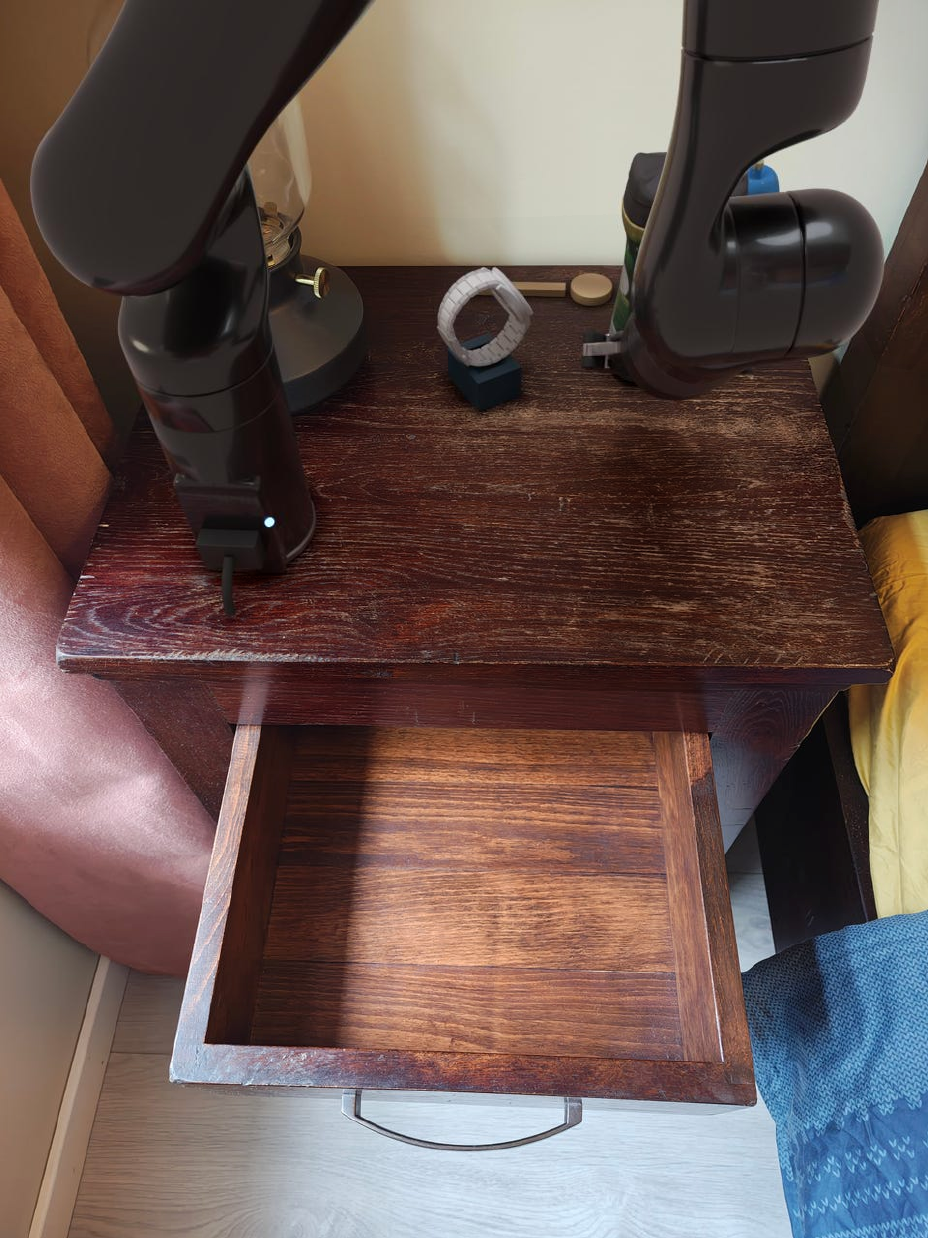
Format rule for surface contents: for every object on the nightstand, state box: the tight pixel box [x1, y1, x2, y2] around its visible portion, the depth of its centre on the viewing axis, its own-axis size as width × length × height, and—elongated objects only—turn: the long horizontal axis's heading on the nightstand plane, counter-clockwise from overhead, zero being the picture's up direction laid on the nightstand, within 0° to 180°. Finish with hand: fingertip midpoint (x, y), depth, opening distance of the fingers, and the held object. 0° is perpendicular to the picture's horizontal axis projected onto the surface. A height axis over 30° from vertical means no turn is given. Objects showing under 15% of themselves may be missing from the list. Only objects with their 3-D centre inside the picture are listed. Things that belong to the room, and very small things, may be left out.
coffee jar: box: [608, 151, 748, 383], centre depth 76 cm, size 10×8×19 cm
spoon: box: [475, 272, 613, 307], centre depth 89 cm, size 4×14×1 cm, turn 86°
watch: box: [436, 266, 534, 413], centre depth 77 cm, size 6×8×11 cm
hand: (651, 366), depth 74 cm, fingers closed
